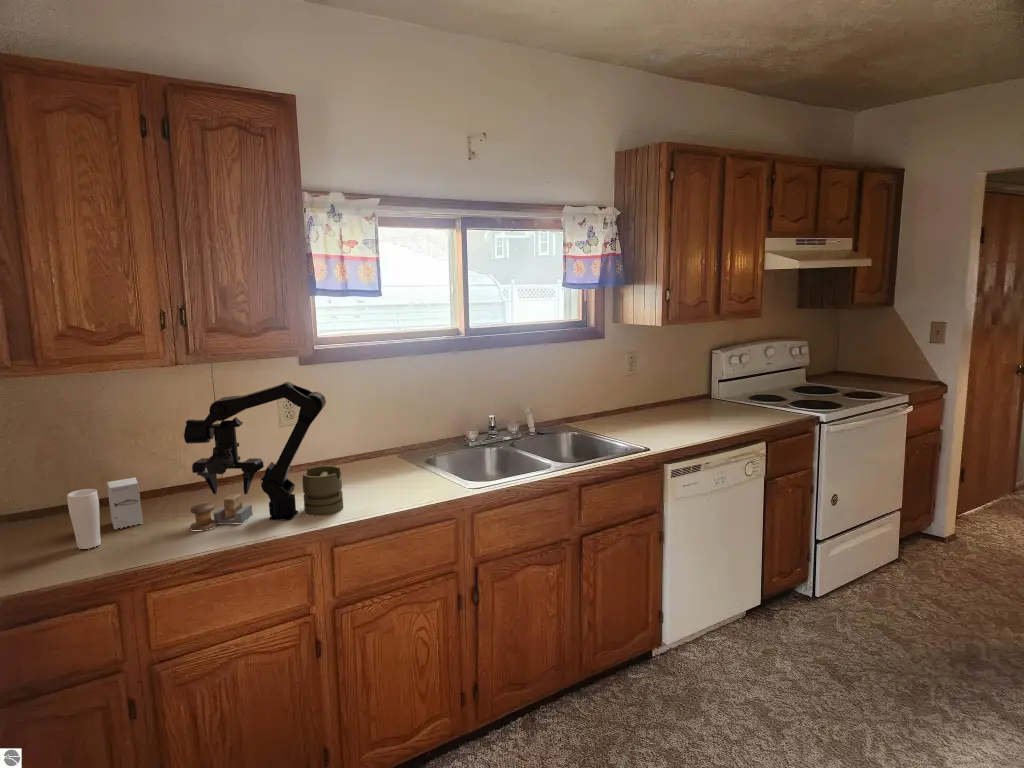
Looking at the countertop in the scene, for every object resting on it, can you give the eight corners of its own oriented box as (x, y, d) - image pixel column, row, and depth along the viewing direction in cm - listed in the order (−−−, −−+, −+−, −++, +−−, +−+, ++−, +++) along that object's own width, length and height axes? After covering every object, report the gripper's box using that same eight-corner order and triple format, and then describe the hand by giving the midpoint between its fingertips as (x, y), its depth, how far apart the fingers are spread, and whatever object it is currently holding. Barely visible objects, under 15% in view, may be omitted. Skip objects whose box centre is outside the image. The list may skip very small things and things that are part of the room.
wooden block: (242, 511, 194) (241, 494, 193) (235, 517, 190) (233, 499, 189) (233, 511, 195) (231, 494, 194) (225, 517, 190) (223, 499, 189)
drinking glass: (71, 546, 174) (64, 493, 172) (100, 539, 179) (93, 486, 177) (77, 554, 170) (69, 498, 167) (107, 546, 174) (100, 492, 172)
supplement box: (114, 530, 185) (108, 488, 183) (111, 523, 191) (106, 481, 189) (143, 524, 189) (138, 482, 187) (140, 517, 195) (135, 476, 193)
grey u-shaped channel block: (252, 515, 195) (251, 504, 195) (241, 524, 188) (240, 513, 188) (226, 514, 196) (225, 504, 195) (214, 523, 189) (213, 513, 188)
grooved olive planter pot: (297, 477, 191) (306, 466, 202) (300, 516, 193) (309, 503, 204) (336, 476, 192) (344, 464, 203) (339, 515, 194) (346, 502, 205)
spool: (222, 521, 190) (220, 502, 189) (209, 531, 183) (207, 511, 182) (198, 521, 190) (196, 502, 189) (185, 531, 184) (183, 511, 183)
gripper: (178, 449, 180) (184, 503, 183) (244, 449, 179) (249, 503, 182) (199, 439, 191) (204, 490, 194) (262, 439, 190) (266, 490, 193)
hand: (230, 494), depth 190 cm, fingers open, 9 cm apart
